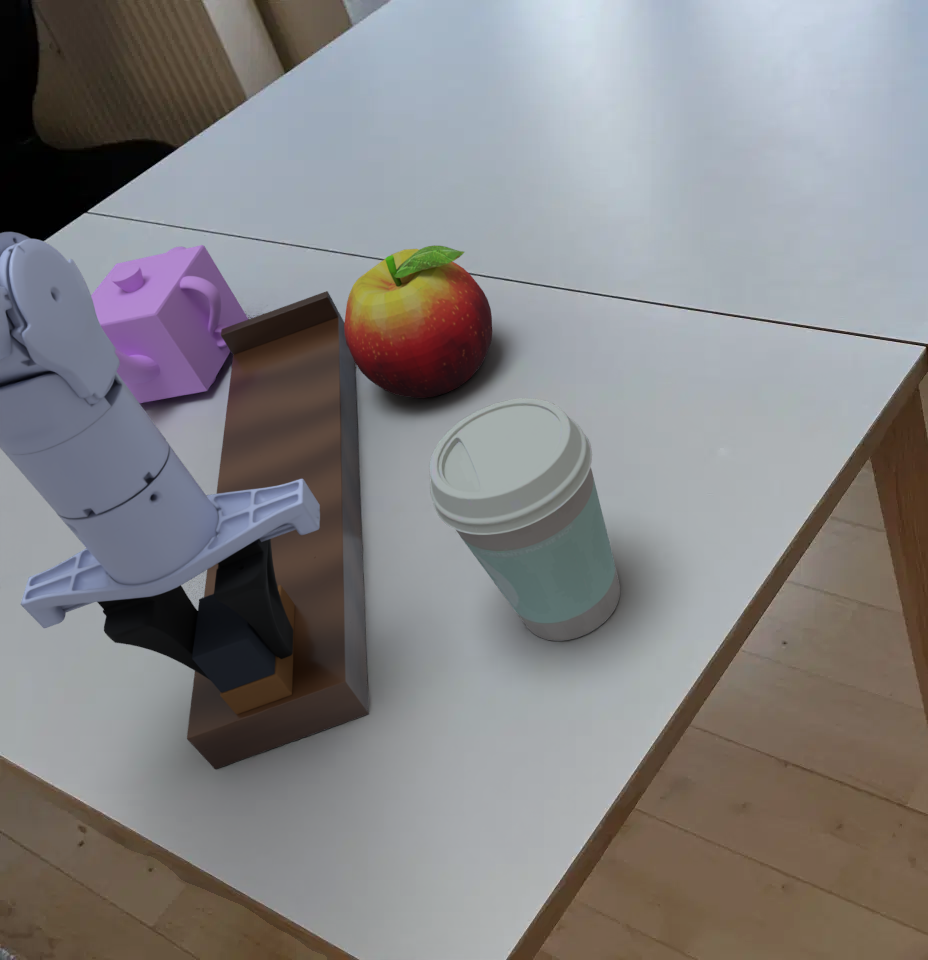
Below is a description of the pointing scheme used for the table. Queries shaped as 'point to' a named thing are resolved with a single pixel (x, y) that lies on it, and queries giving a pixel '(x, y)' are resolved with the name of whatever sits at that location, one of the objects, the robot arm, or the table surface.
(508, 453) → the coffee cup
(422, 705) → the table surface
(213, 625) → the cube on wooden base
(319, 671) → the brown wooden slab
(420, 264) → the fruit
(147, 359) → the teapot
